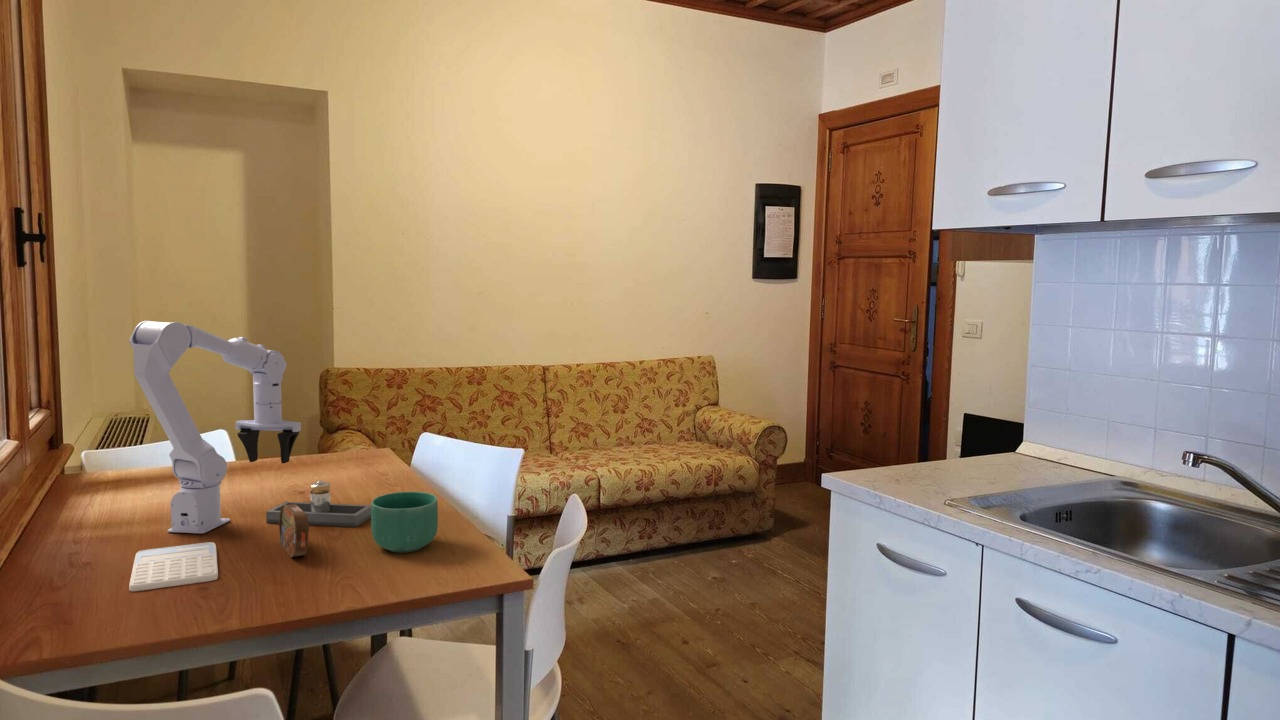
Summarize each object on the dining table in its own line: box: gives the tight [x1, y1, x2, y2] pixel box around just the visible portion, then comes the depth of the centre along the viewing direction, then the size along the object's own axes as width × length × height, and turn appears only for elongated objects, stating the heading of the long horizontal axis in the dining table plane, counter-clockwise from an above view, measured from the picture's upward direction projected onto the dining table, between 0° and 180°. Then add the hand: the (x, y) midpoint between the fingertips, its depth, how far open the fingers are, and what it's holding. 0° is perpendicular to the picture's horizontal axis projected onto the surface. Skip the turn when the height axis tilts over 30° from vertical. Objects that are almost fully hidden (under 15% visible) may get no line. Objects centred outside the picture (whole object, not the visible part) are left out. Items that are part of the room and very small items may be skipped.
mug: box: [370, 491, 439, 553], centre depth 164 cm, size 17×13×10 cm
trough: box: [265, 501, 371, 528], centre depth 180 cm, size 8×20×2 cm, turn 84°
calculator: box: [128, 541, 219, 592], centre depth 149 cm, size 13×20×2 cm, turn 28°
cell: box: [309, 480, 331, 513], centre depth 180 cm, size 4×4×8 cm
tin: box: [278, 504, 310, 559], centre depth 159 cm, size 15×3×8 cm, turn 34°
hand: (269, 461), depth 189 cm, fingers open, 7 cm apart
